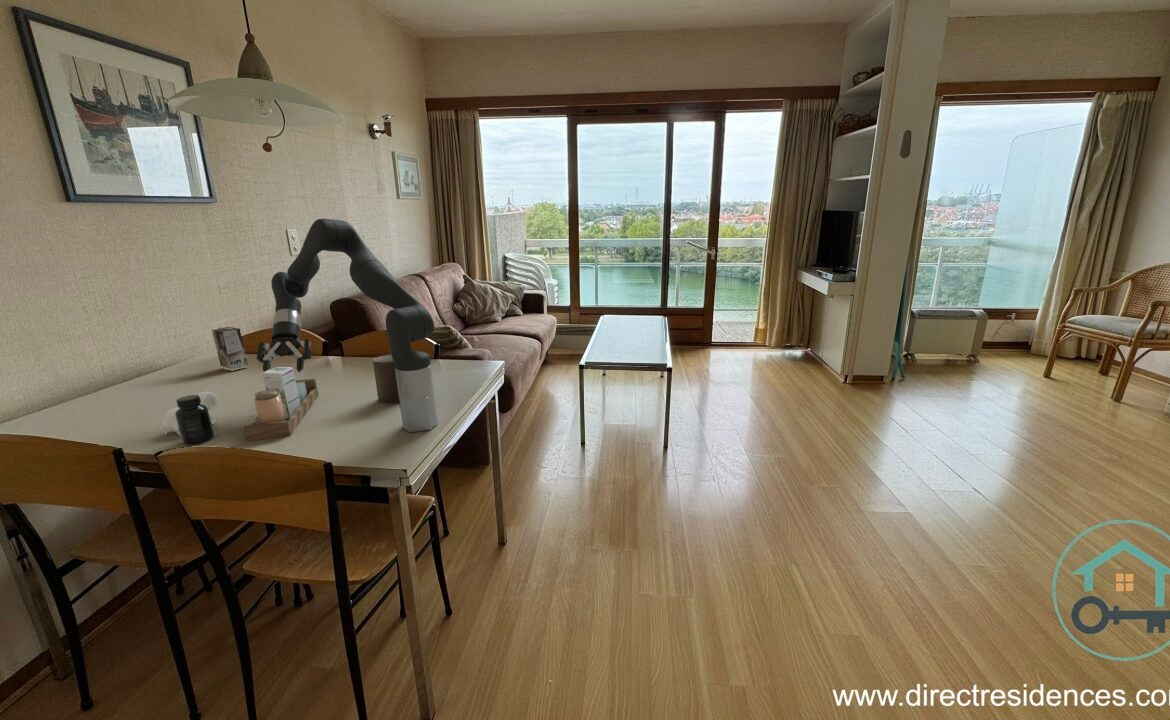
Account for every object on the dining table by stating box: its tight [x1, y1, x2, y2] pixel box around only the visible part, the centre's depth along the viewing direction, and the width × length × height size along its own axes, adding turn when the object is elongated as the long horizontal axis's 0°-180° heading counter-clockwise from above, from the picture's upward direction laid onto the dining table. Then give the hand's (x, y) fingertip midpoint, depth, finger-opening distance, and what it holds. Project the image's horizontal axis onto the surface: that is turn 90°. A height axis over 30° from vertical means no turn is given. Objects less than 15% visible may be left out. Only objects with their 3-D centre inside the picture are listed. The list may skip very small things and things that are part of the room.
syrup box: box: [262, 366, 300, 420], centre depth 145 cm, size 6×6×14 cm
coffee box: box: [211, 326, 249, 369], centre depth 194 cm, size 9×6×16 cm
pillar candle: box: [372, 354, 400, 405], centre depth 156 cm, size 10×10×15 cm
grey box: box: [296, 382, 307, 405], centre depth 156 cm, size 6×8×7 cm
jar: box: [253, 389, 286, 424], centre depth 135 cm, size 6×6×11 cm
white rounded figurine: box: [159, 391, 219, 436], centre depth 140 cm, size 9×8×15 cm
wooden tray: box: [242, 378, 320, 442], centre depth 146 cm, size 32×10×6 cm, turn 15°
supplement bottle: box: [175, 394, 215, 446], centre depth 130 cm, size 7×7×12 cm
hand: (283, 371), depth 148 cm, fingers open, 8 cm apart
